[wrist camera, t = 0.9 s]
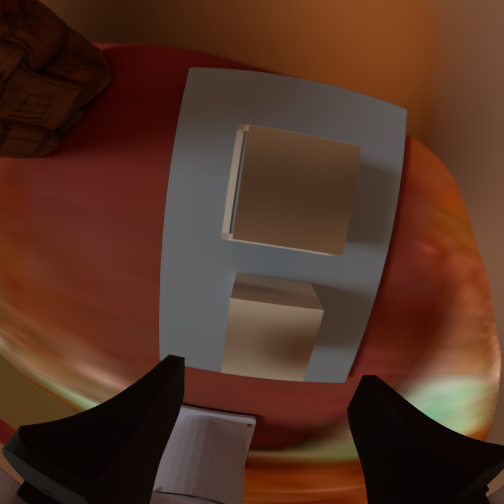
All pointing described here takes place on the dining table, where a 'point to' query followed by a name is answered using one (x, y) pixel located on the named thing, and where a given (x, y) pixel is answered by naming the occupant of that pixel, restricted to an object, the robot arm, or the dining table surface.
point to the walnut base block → (296, 190)
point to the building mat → (259, 254)
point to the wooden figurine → (43, 78)
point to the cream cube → (270, 327)
